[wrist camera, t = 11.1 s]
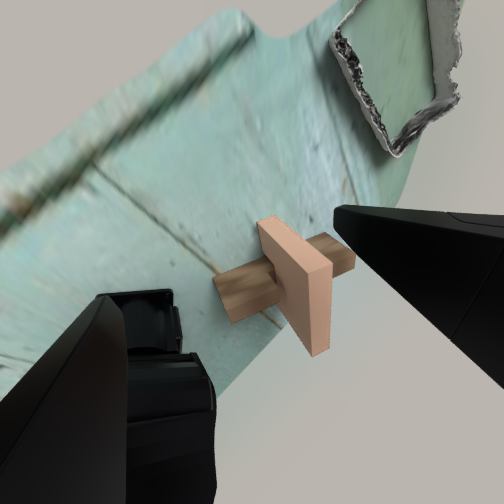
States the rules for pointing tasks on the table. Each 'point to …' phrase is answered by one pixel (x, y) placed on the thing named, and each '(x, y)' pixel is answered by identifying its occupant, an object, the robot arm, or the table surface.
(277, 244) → the crosspiece
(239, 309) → the cross rail
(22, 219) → the table surface
